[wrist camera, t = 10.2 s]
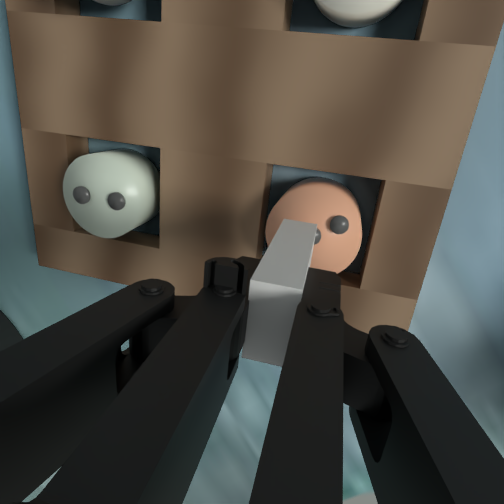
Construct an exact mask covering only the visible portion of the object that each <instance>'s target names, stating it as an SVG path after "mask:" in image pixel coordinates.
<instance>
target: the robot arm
mask: <svg viewBox="0 0 504 504" xmlns="http://www.w3.org/2000/svg"><path fill="white" fill-rule="evenodd" d="M316 230H317V224H314V223H307V222H301V221H295V220H289V219H284V220H283V221H282V223H281V225H280V227H279V229H278V230H277V232H276V234H275V236H274V238H273V239H272V241H271V243H270V245H269V247H268V249H267V250H266V252H265V254H264V256H263V258H262V259H257V258H252V257H246V256H241V257H239V258H237V259H235V258H230V257H215V258H211V259H208V260H207V261H205V265H204V282H203V288H202V289H201V290H200V292H199V293H198V294H197V295H195V296H179V295H175V287H174V286H173V285H172V284H171V283H169V282H167V281H164V280H160V279H154V278H152V279H146V280H141V281H138V282H135V283H133V284H131V285H129V286H127V287H125V288H123V289H121V290H119V291H117V292H115V293H113V294H111V295H109V296H107V297H106V298H104V299H102V300H100V301H98V302H96V303H94V304H92V305H90V306H88V307H86V308H84V309H82V310H80V311H78V312H76V313H74V314H72V315H70V316H68V317H66V318H65V319H63V320H61V321H59V322H57V323H55V324H53V325H51V326H49V327H47V328H45V329H43V330H41V331H39V332H37V333H35V334H33V335H31V336H29V337H27V338H26V339H24V340H23V339H22V337H21V335H20V334H19V333H18V331H17V330H16V328H15V327H14V326H13V324H12V323H11V322H10V321H9V320H8V319H7V318H6V316H5V315H4V314H3V313H2V312H1V311H0V504H182V503H183V501H184V498H185V496H186V493H187V491H188V488H189V486H190V484H191V481H192V479H193V476H194V474H195V471H196V469H197V466H198V464H199V461H200V459H201V457H202V454H203V452H204V449H205V447H206V444H207V442H208V439H209V437H210V434H211V432H212V430H213V427H214V425H215V422H216V420H217V417H218V415H219V412H220V410H221V407H222V405H223V403H224V400H225V398H226V395H227V393H228V390H229V388H230V385H231V383H232V380H233V378H234V376H235V373H236V371H237V368H238V361H239V353H240V351H241V349H242V346H243V350H242V358H246V359H251V360H255V361H259V362H264V363H268V364H272V365H276V366H281V367H282V370H281V374H280V379H279V383H278V387H277V391H276V395H275V399H274V403H273V407H272V411H271V415H270V420H269V424H268V428H267V432H266V436H265V440H264V444H263V448H262V452H261V456H260V460H259V465H258V469H257V473H256V477H255V481H254V485H253V489H252V493H251V497H250V501H249V504H342V503H343V403H345V404H347V405H349V415H350V418H351V421H352V424H353V427H354V430H355V434H356V437H357V440H358V443H359V446H360V449H361V452H362V455H363V458H364V462H365V465H366V468H367V471H368V474H369V477H370V480H371V483H372V486H373V490H374V493H375V496H376V499H377V502H378V504H504V458H503V457H502V456H501V454H500V453H499V451H498V450H497V448H496V447H495V446H494V444H493V443H492V441H491V440H490V439H489V437H488V436H487V434H486V433H485V432H484V430H483V429H482V427H481V426H480V425H479V423H478V422H477V420H476V419H475V418H474V416H473V415H472V413H471V412H470V411H469V409H468V408H467V406H466V405H465V403H464V402H463V401H462V399H461V398H460V396H459V395H458V394H457V392H456V391H455V389H454V388H453V387H452V385H451V384H450V382H449V381H448V380H447V378H446V377H445V375H444V374H443V373H442V371H441V370H440V368H439V367H438V366H437V364H436V363H435V361H434V360H433V359H432V357H431V356H430V354H429V353H428V351H427V350H426V349H425V347H424V346H423V344H422V343H421V342H420V340H418V339H417V338H416V337H415V336H414V335H413V334H411V333H410V332H408V331H406V330H405V329H403V328H399V327H397V326H390V325H377V326H374V327H372V328H371V329H370V331H369V334H367V333H365V332H362V331H360V330H358V329H356V328H353V327H352V326H350V325H349V324H347V323H346V322H345V321H344V315H343V312H342V310H341V309H340V308H341V278H340V277H339V276H338V275H337V273H336V272H333V271H327V270H322V269H316V268H311V267H310V264H311V258H312V253H313V247H314V241H315V236H316ZM128 339H129V348H127V349H126V350H125V351H121V345H122V344H123V343H124V342H125V341H127V340H128ZM61 466H62V467H61ZM60 467H61V468H60ZM59 468H60V469H59ZM58 469H59V470H58ZM57 470H58V472H57V473H56V474H55V475H54V477H53V478H52V479H51V481H50V482H49V483H48V484H47V486H46V487H45V488H44V489H43V491H42V492H41V493H40V494H39V495H38V496H37V497H36V498H35V499H33V500H31V501H30V502H22V501H23V500H24V499H25V498H26V497H27V496H28V495H30V494H31V493H32V492H33V491H34V490H35V489H36V488H37V487H39V486H40V485H41V484H42V483H43V482H44V481H45V480H46V479H48V478H49V477H50V476H51V475H52V474H53V473H54V472H55V471H57Z"/></svg>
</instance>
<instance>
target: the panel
mask: <svg viewBox="0 0 504 504" xmlns="http://www.w3.org/2000/svg"><path fill="white" fill-rule="evenodd" d="M5 2H6V10H7V18H8V26H9V34H10V42H11V50H12V57H13V65H14V73H15V81H16V89H17V97H18V105H19V113H20V121H21V128H22V136H23V144H24V152H25V160H26V168H27V176H28V184H29V191H30V199H31V207H32V215H33V223H34V231H35V239H36V247H37V255H38V262H39V265H40V266H45V267H49V268H54V269H58V270H63V271H67V272H72V273H76V274H81V275H85V276H90V277H94V278H98V279H103V280H107V281H112V282H116V283H121V284H125V285H131V284H133V283H135V282H138V281H141V280H146V279H152V278H154V279H160V280H164V281H167V282H169V283H171V284H172V285H173V286H174V287H175V295H179V296H195V295H197V294H198V293H199V292H200V290H201V289H202V288H203V282H204V265H205V261H207V260H208V259H211V258H215V257H230V258H235V259H237V258H239V257H241V256H246V257H252V258H257V259H262V258H263V256H262V252H263V244H264V236H265V228H266V219H267V211H268V203H269V195H270V187H271V178H272V170H273V164H276V165H283V166H290V167H297V168H304V169H311V170H318V171H325V172H332V173H339V174H346V175H353V176H360V177H367V178H374V179H381V184H380V189H379V193H378V197H377V202H376V206H375V210H374V214H373V219H372V223H371V227H370V231H369V236H368V240H367V244H366V248H365V253H364V257H363V261H362V265H361V270H360V274H356V273H351V272H346V271H341V272H339V273H338V274H337V275H338V276H339V277H340V278H341V308H340V309H341V310H342V312H343V315H344V321H345V322H346V323H347V324H349V325H350V326H352V327H353V328H356V329H358V330H360V331H362V332H365V333H367V334H369V331H370V329H371V328H372V327H374V326H377V325H390V326H397V327H399V328H403V329H405V330H406V331H408V329H409V326H410V322H411V319H412V316H413V313H414V309H415V306H416V303H417V300H418V296H419V293H420V290H421V287H422V283H423V280H424V277H425V274H426V271H427V267H428V264H429V261H430V258H431V254H432V251H433V248H434V245H435V241H436V238H437V235H438V232H439V229H440V225H441V222H442V219H443V216H444V212H445V209H446V206H447V203H448V199H449V196H450V193H451V190H452V187H453V183H454V180H455V177H456V174H457V170H458V167H459V164H460V161H461V157H462V154H463V151H464V148H465V145H466V141H467V138H468V135H469V132H470V128H471V125H472V122H473V119H474V115H475V112H476V109H477V106H478V103H479V99H480V96H481V93H482V90H483V86H484V83H485V80H486V77H487V73H488V70H489V67H490V64H491V60H492V57H493V54H494V51H495V48H496V44H497V41H498V38H499V35H500V31H501V28H502V25H503V22H504V0H424V1H423V6H422V10H421V14H420V18H419V23H418V27H417V31H416V35H415V40H402V39H388V38H374V37H361V36H347V35H334V34H320V33H307V32H293V31H290V23H291V15H292V6H293V0H162V10H161V22H157V21H143V20H130V19H116V18H103V17H89V16H80V5H79V0H5ZM88 138H95V139H102V140H109V141H116V142H123V143H130V144H137V145H144V146H151V147H158V148H160V236H158V235H153V234H148V233H142V232H137V231H132V230H131V231H129V232H127V233H125V234H123V235H122V236H119V237H116V238H102V237H98V236H95V235H93V234H91V233H89V232H88V231H86V230H85V229H83V228H82V227H81V226H80V225H79V224H78V223H77V222H76V221H75V219H74V218H73V217H72V215H71V214H70V212H69V210H68V208H67V205H66V203H65V199H64V194H63V180H64V175H65V173H66V170H67V168H68V167H69V165H70V164H71V163H72V162H73V161H74V160H75V159H77V158H78V157H81V156H83V155H87V154H89V148H88Z"/></svg>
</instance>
